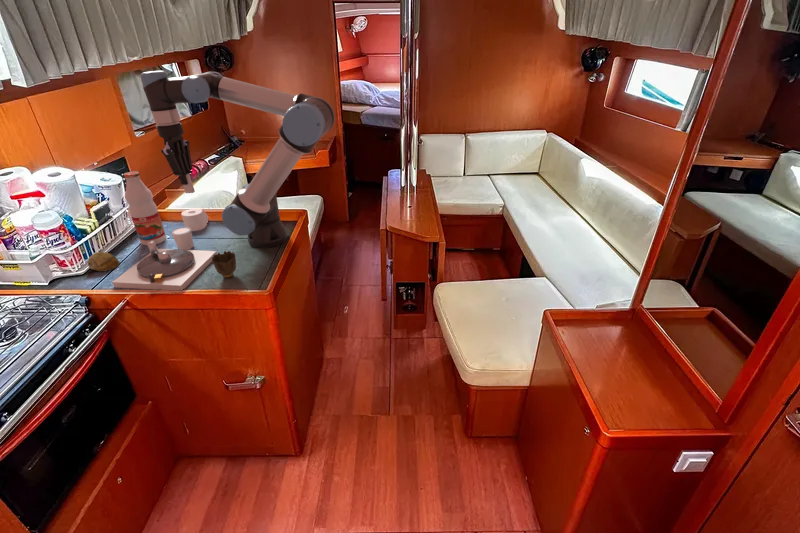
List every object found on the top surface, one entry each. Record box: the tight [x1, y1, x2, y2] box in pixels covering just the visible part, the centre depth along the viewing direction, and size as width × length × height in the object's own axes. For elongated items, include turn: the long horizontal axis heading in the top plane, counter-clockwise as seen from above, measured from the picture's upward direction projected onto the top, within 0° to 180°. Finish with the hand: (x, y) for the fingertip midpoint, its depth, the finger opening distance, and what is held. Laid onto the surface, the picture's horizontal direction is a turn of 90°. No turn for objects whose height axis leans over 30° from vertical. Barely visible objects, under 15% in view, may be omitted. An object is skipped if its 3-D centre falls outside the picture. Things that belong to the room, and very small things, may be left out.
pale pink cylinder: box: [171, 226, 195, 250], centre depth 164 cm, size 7×7×7 cm
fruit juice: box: [123, 170, 167, 247], centre depth 163 cm, size 9×9×28 cm
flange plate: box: [137, 241, 195, 282], centre depth 146 cm, size 18×20×7 cm
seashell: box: [87, 251, 121, 272], centre depth 151 cm, size 10×7×8 cm
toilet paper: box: [180, 206, 209, 232], centre depth 181 cm, size 8×11×7 cm
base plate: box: [111, 248, 218, 291], centre depth 148 cm, size 24×24×5 cm
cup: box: [212, 250, 237, 279], centre depth 143 cm, size 8×7×8 cm
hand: (190, 192), depth 149 cm, fingers closed
